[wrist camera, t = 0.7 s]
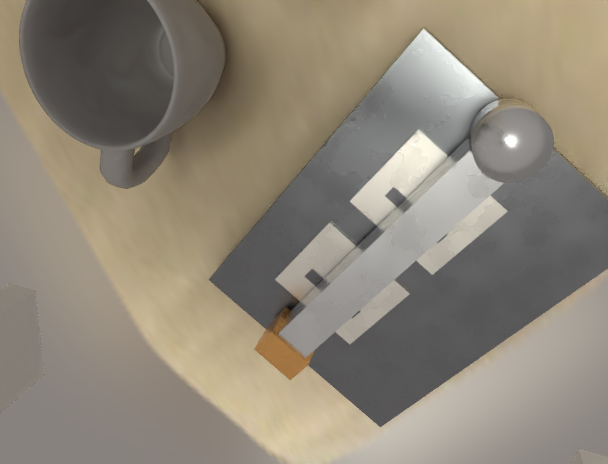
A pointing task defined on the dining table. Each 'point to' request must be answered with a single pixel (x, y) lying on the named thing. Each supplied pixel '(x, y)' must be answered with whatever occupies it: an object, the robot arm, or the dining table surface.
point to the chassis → (433, 263)
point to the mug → (121, 74)
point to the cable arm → (413, 228)
